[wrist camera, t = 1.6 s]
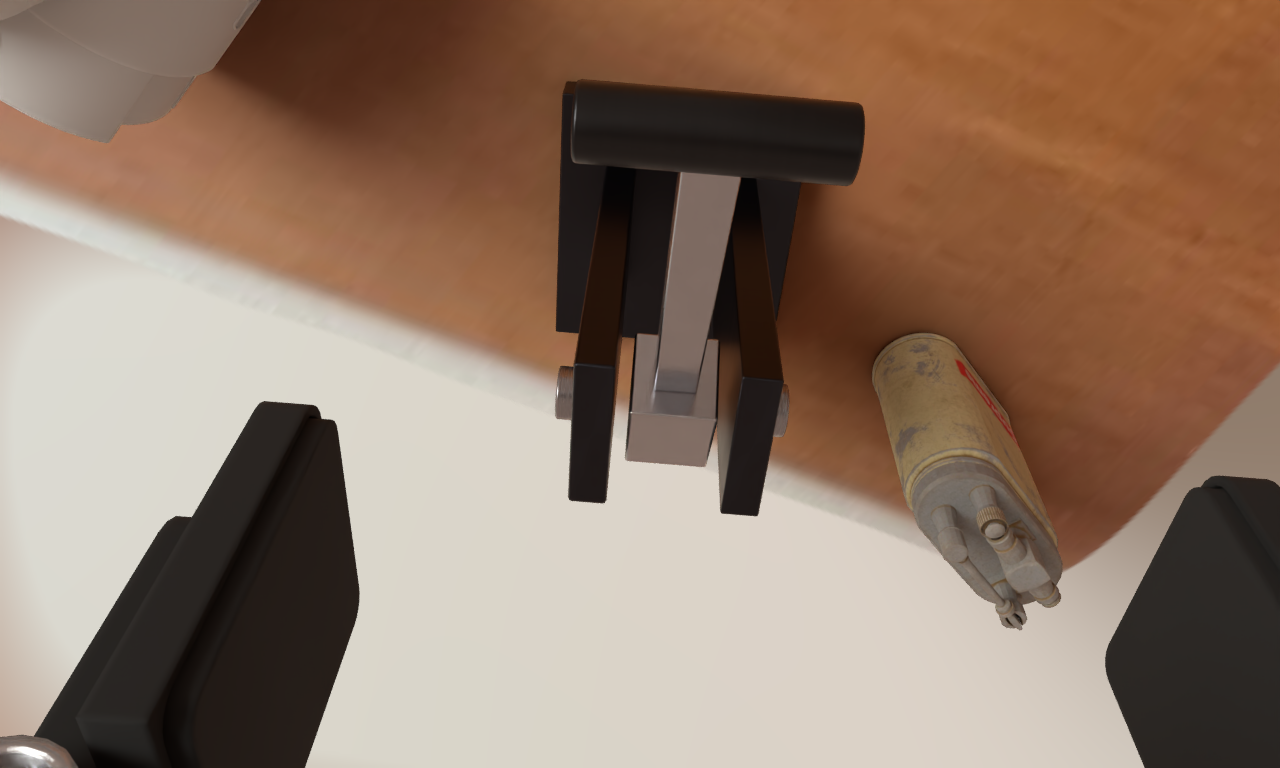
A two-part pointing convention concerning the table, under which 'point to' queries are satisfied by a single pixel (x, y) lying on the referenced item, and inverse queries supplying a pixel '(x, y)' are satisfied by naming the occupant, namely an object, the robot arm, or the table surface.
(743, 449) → the black upright stand
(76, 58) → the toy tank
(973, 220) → the table surface
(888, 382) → the lighter
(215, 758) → the robot arm
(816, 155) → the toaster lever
